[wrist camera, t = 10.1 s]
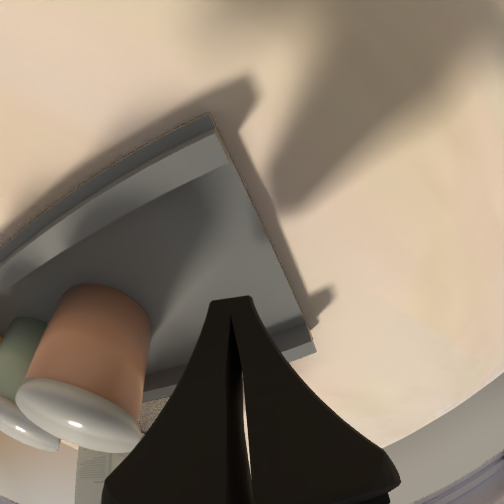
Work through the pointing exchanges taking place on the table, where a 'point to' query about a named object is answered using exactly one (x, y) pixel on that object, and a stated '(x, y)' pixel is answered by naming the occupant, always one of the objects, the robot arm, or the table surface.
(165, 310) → the grey rectangular tray
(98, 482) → the skincare box
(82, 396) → the jar
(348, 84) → the table surface
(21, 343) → the jar
